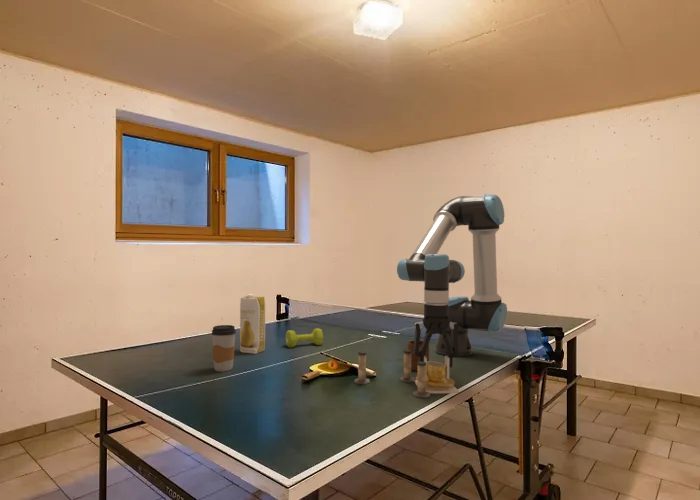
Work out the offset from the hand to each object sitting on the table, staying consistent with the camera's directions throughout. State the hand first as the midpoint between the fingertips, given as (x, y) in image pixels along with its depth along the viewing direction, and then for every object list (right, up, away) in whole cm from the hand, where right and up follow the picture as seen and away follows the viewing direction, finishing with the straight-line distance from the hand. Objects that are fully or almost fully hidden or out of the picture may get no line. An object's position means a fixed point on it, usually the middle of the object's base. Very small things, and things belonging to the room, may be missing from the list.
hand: (435, 377), depth 133 cm
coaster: (0, -3, 0) cm, 3 cm away
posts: (-14, -3, 0) cm, 14 cm away
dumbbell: (-47, -3, +57) cm, 74 cm away
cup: (0, -1, 0) cm, 1 cm away
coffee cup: (-71, -3, +19) cm, 74 cm away
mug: (-2, -3, +19) cm, 19 cm away
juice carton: (-67, -3, +45) cm, 81 cm away
